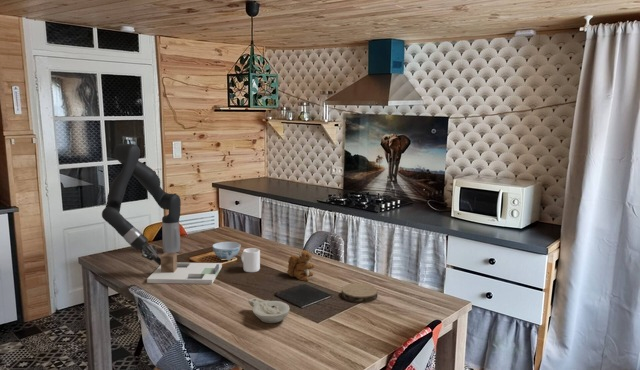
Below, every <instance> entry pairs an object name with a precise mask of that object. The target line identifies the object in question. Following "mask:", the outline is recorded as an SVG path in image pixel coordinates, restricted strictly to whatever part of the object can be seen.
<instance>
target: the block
mask: <svg viewBox="0 0 640 370" xmlns="http://www.w3.org/2000/svg"><path fill="white" fill-rule="evenodd" d="M177 256H178V252H176V253H164V252H163V254H161V255H160V259H161V272H171V273H174V272H175V270H176V269H177V263H178V257H177Z"/></svg>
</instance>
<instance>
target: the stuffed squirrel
mask: <svg viewBox="0 0 640 370" xmlns="http://www.w3.org/2000/svg"><path fill="white" fill-rule="evenodd" d="M298 254H299V255H298V256H297V255H293V254H292V255H291V256H290V257H289V259H288V265H287V271H286V273H287V274H288V276H289V277H293V278H294V277H295V278H296V279H297V280H299V281H304V282H308V281H309V280H310V279H309V278H310V277H311V276H313V275H314V272H312V271H310V270H312V269H315V264H314V263H311V260H312V254H311V253H310V252H309V251H308V250H305V249H304V250H303V251H300V252H299V253H298Z"/></svg>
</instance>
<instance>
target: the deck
mask: <svg viewBox="0 0 640 370" xmlns="http://www.w3.org/2000/svg"><path fill="white" fill-rule="evenodd" d="M222 267H223V263H222V262H177V269H176V270H175V272H174V273H171V272H161V265H158V267H157V268H156V269H155V270H154V271H153V273H151V274H150V275H149V276H148V277H147V278H146V284H181V285H182V284H184V285H186V284H191V285H213V283H214V281H215V280H216V278H215V274H216V272H217V271H218V269H219V272H220V271H221V270H222ZM205 268H214V270H213V274H205V275H204V276H203V277H201V273H202V271H203V270H204V269H205Z"/></svg>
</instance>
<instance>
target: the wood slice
mask: <svg viewBox="0 0 640 370" xmlns="http://www.w3.org/2000/svg"><path fill="white" fill-rule="evenodd" d="M378 292H379V291H378V289H377V288H376V287H375V286H373V285H370V284H367V283H359V282H358V283H348V284H345V285H344V286H342V288H341V297H342V298H343V299H344V300H345V301H349V302H353V303H360V304H361V303H369V302H374V301H375V300H377V299H378V294H379V293H378Z"/></svg>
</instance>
